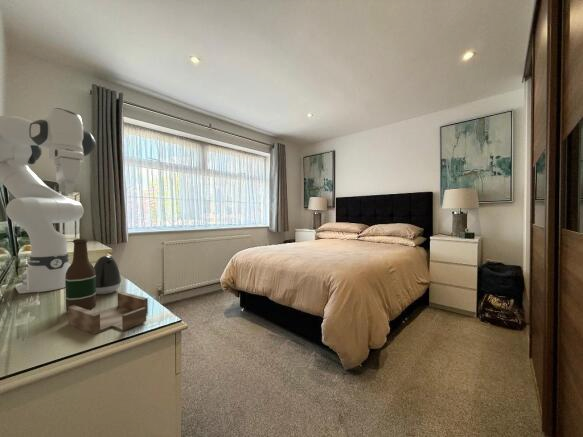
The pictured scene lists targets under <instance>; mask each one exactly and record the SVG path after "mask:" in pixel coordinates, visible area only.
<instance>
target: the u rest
mask: <svg viewBox="0 0 583 437" xmlns="http://www.w3.org/2000/svg"><path fill="white" fill-rule="evenodd" d="M148 305H149V302H148V297H144V296H140V295H136V294H132V293H128V292H124V291H120V292H117V305H116V306H114V307H111V308H107V309H104V310H101V311H98V312H96V311H92V310H91V309H90V310H87V309H84V308H81V307H78V306H75V305H73V306H69V307H68V312H67V324H68V325H70V326H72V327H75V328H77V329H80V330H81V331H84V332H87V333H89V334H91V335H93V336H94V335H96V334H100V333H102V332H105V331H107V330H109V329H116V330H118V331H121V332H124V331H127V330H129V329H131V328H132V329H133V328H134V327H136V326H139V325H141V324H143V322H144V323H145V322H147V314H146V313H148V314H149V308H148V307H149V306H148Z"/></svg>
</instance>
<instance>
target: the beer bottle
mask: <svg viewBox="0 0 583 437" xmlns="http://www.w3.org/2000/svg"><path fill="white" fill-rule="evenodd" d="M88 242H89V241H88V239H87V238H75V239H73V241H72V243H73V256H72V263H70V264H71V265H70V267H69V268H68V270H67V272H66V277H65V287H64V288H65V311H66V313H68V307H69V306H73V305H75V306H78V307H81V308H84V309H87V310H90V311H91V310H92V309H93V308H95V307H96V305H97V294H96V273H95V269H94V264H92V263H91V262H90V260H89V255H88V245H87V243H88Z"/></svg>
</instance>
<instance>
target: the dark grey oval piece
mask: <svg viewBox="0 0 583 437" xmlns="http://www.w3.org/2000/svg"><path fill="white" fill-rule="evenodd" d="M93 267H94V269H95V273H96V295H99V296H100V295H109V294H112V293H115V291H117V290H119V288H120V285H121V283H122V277H121V272H120V268H119V266H118V264H117V262H116V260H115V259H114V258H113V257H112V256H110V255H103V256H100V257H99V258H98V259H97V261H96V262H95V264H94V265H93Z"/></svg>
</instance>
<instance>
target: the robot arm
mask: <svg viewBox="0 0 583 437" xmlns="http://www.w3.org/2000/svg"><path fill="white" fill-rule="evenodd" d="M42 147H43V148H46V149H49V151H48V154H49V155H48V156H49V160H52V161H53V162H54V165H55V166H56V168H55V169H56V170H55V171H56V172H55V182H56V183H57V184H59V187H60V188H59V189H60V192H58V191H56V190H55V189H53V188H51V187H50V186H48V185H47V184H46V183H45V182H44V181H43V180H42V179H41V178H40V177H39V176H38V175H37V174H36V173H35V172H34V171H33V170H32V169H31V167H29V165H35V164H36V163H37V162H36V161H38V160H39V159H40V158H41V156H42ZM96 147H97V142H96V139H95V137H94V136H93V135H92V133H91V132H89V131H87V130H84V125H83V121H82V117H81V116H80V115H79V114H78V113H76V112H74V111H71V110H68V109H63V108H60V107H52V108H51V109H50V112H49V114H48V116H46V117H45V118H43V119H37V120H34V121H32V120H29V119H26V118H23V117H20V116H16V115H0V182H1V184H2V185H3V186H4V187H5V188H6V189H7V190H8V191H9V193H11V196H13V197H14V198H13V199H11V200H10V201H9V202H8V203H7V204H6V207H5V214H6V215H7V217H8V218H9V219H10V220H11V221H12V222H14V223H16V224H18V225H19V226H20V227H21V228H22V229H24V230H25V232H26V234H27V235H28V238H29V242H30V256H29V259H28V265H29V266H28V267H27V268H26V270H24V271H23V273H22V274H20V275H18V277H17V278H18V279H17V280H18V281H19V282H21V281H22V282H21V283H17V284H15V285H14V287H15V289H16V291H17V293H18V294H29V293H42V292H49V291H54V290H59V289H60V290H61V289H63V288H65V277H66V272H67V270H68V268H69V267H70V265H71V264H72V263H69V262H70V261H69V258H70V256H69V253H68V238H67V236H66V235H65V234H64V233H62V232H59V231H57V229H56V228H55V227H54V224H63V223H65V224H66V223H67V224H68V223H72V222H76V221H78V220H79V221H80V219H82V217H83V216H84V213H85V212H84V211H85V210H84V207H83V205H82V203H81V202H80V201H77V200H74V199H71V198H69V197H67V196H69V195H70V196H72V195H74V187H75V183H76V182H77V181H79V180H80V177H81V176H80V175H81V168H82V164H84V157H86V156H88V155H91V154H92V153H93V152H95V150H96Z"/></svg>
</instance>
